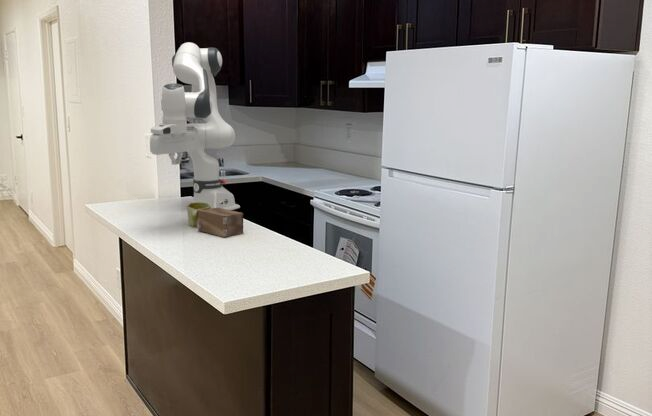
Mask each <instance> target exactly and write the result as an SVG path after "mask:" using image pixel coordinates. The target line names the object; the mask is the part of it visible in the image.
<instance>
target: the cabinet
mask: <svg viewBox="0 0 652 416" xmlns="http://www.w3.org/2000/svg"><path fill="white" fill-rule="evenodd" d="M204 211H208V212H213V213H217V214H222V215H226V217H227V224H226V229H227V236H226V237H225V238H230V237H234V236H239V235H242V234H244V213H243V212H241V211H240V212H239V211H236V210H227V209H223V208H212V209H206V210H204Z"/></svg>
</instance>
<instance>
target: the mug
mask: <svg viewBox="0 0 652 416" xmlns="http://www.w3.org/2000/svg"><path fill="white" fill-rule="evenodd" d="M206 209H211V206H210V205H209V204H208V203H203V202H196V203H193V202H192V203H189V204H188V205H187V206H186V211H187V222H188V225H189V226H191V227H197V220H198V210H206Z"/></svg>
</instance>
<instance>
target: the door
mask: <svg viewBox="0 0 652 416" xmlns="http://www.w3.org/2000/svg"><path fill="white" fill-rule="evenodd" d="M226 224H227V217H226V215H222V214H217V213H213V212H208V211H204V210H198V220H197V226H196V228H197V229H198V232H204V233H207V234H211V235H215V236H219V237H223V238H227V237H226V236H227V229H226Z"/></svg>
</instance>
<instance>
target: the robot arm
mask: <svg viewBox="0 0 652 416" xmlns="http://www.w3.org/2000/svg"><path fill="white" fill-rule="evenodd" d="M171 66H172V69H173V70H172V71H173V74H174V75H175V77H176V78H177V79H178V81H180V82H182V83H184V84H188V85H191V92H189V91H187V92H186V91H185V88H184V85H182V84H180V83H167V84H165V85H163V87H162V91H161V103H160V104H161V111H162V119H161V120H162V122H161V123H158V124H156V125H154V126H153V127H151V128H150V133H151V136H150V139H149V148H150V149H149V151H150V153H151V154H152V155H154V156H155V155H156V156H159V155H168V157H169V158H170V160H171V164H172V165H180V164H181V160H182V158H183V156H184V153H185V152H186V153H188V155H189V157H190V159H191V162H192V167H193V180H192V181H193V182H192V184H193V185H192V189H193V201H192V203H196V202H203V203H208V204H209V205H210V206H211V209H212V208H223V209H227V210H232V211H235V210H238V209H240V208H241V206H240V205H239V204H238V203H236V201H235V200H236V199H235V196H234V194H233V193H232V192H230V191H229V190H228V189H226V188H225V187H224V186H223V185H227V183H228V181H227V179H225V178H224V179H221V178H220V163H219V161H218V160H217V159H216V158H215V157H213V156H211V155H209V154H207V153H206V152H205V149H224V148H229V147H231V146H232V145H233V144H234V142H235V141H236V133H235V130H234V128H233V126H231V124H229V123H227V122H226V121H225V120H224V118H222V116H221V114H220V112H219V108H218V107H219V106H218V100H217V98H218V97H217V85H216V82H215V78H214V77H216V76H217V75H218V73H219V72H220V71H221V69H222V67H223V57H222V54H221V51H220V50H219V49H218V48H217V47H211V46H210V47H207V48H206V47H205V48H200V47H199V46H198V45H197V44H196V43H194V42H189V41H188V42H184V43H182V44H180V47H179V48H178V49H177V51H176V53H175V54H173V56H172V58H171ZM187 118H195V119H202V120H203V121H205V123H200V122H199V123H193V122H192V123H187ZM176 155H177V156H176ZM175 156H176V157H175Z"/></svg>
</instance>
